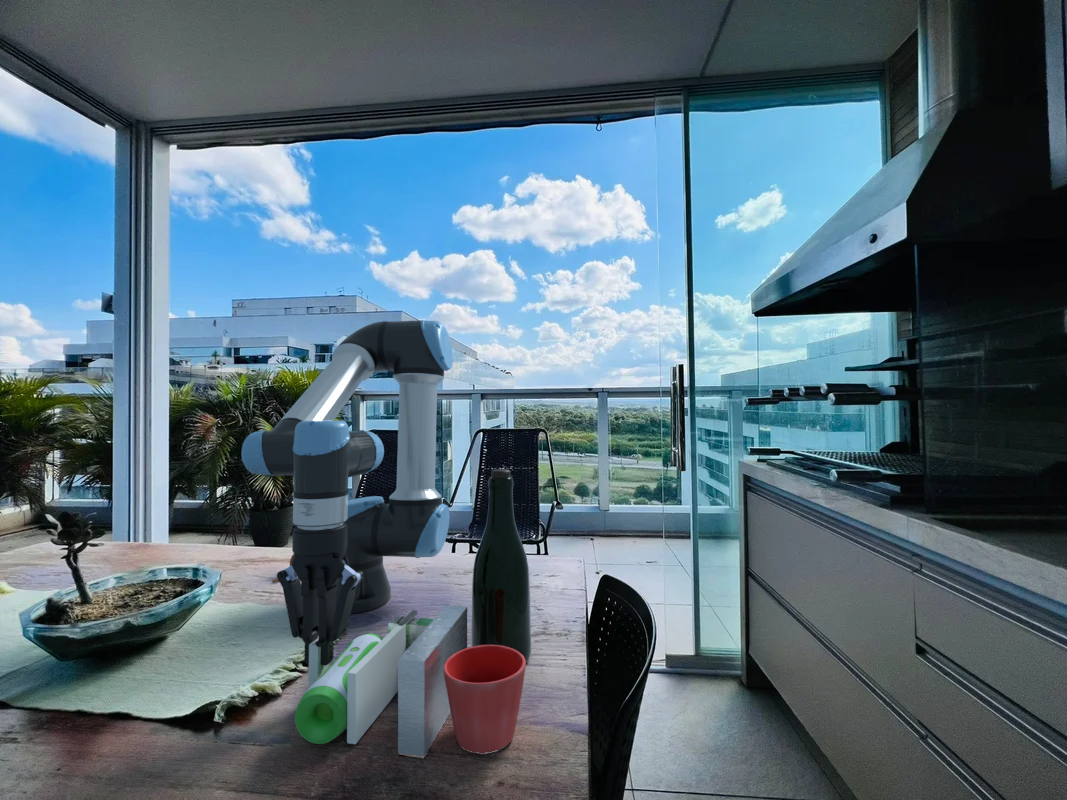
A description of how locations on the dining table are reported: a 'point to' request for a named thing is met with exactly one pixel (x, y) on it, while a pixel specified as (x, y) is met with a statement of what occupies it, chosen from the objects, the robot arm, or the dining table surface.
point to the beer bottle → (501, 576)
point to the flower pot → (484, 695)
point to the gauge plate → (374, 681)
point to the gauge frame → (426, 676)
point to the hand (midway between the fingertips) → (318, 685)
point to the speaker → (331, 695)
